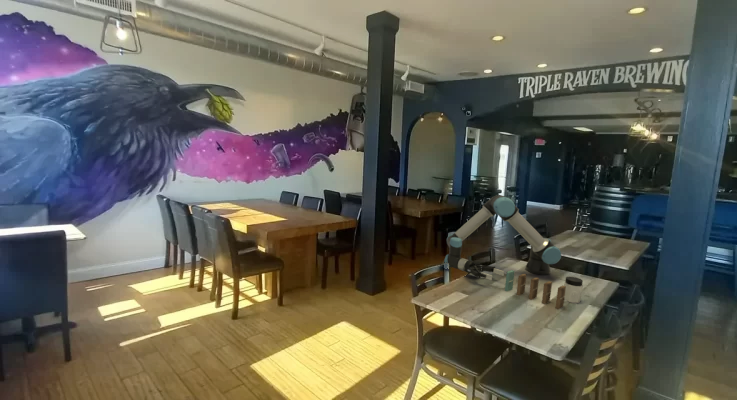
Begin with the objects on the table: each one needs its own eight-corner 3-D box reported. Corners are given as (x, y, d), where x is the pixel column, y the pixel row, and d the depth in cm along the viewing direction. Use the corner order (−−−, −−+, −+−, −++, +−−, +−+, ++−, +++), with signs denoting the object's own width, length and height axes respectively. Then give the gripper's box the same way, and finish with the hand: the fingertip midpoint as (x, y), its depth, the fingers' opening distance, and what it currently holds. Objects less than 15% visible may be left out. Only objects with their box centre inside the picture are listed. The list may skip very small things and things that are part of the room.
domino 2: (533, 296, 204) (535, 277, 202) (536, 297, 202) (539, 278, 201) (528, 298, 200) (530, 279, 198) (531, 299, 198) (534, 280, 197)
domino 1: (521, 292, 209) (523, 273, 207) (524, 293, 207) (526, 274, 206) (516, 294, 205) (518, 275, 203) (519, 295, 203) (521, 276, 202)
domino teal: (509, 288, 214) (511, 270, 212) (512, 289, 213) (514, 271, 211) (504, 290, 210) (506, 271, 208) (507, 291, 209) (509, 272, 207)
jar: (563, 301, 198) (566, 280, 197) (560, 295, 206) (563, 275, 204) (582, 304, 196) (585, 282, 194) (578, 298, 203) (581, 277, 202)
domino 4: (559, 305, 193) (562, 285, 192) (563, 306, 192) (566, 286, 190) (555, 307, 189) (557, 287, 188) (558, 309, 188) (561, 288, 186)
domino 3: (546, 300, 198) (548, 281, 197) (549, 301, 197) (552, 282, 195) (541, 303, 194) (543, 283, 193) (544, 304, 193) (547, 284, 191)
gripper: (477, 268, 240) (507, 277, 225) (454, 275, 224) (485, 286, 208) (478, 257, 239) (509, 265, 224) (455, 263, 223) (487, 273, 207)
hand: (497, 275), depth 216 cm, fingers open, 13 cm apart
